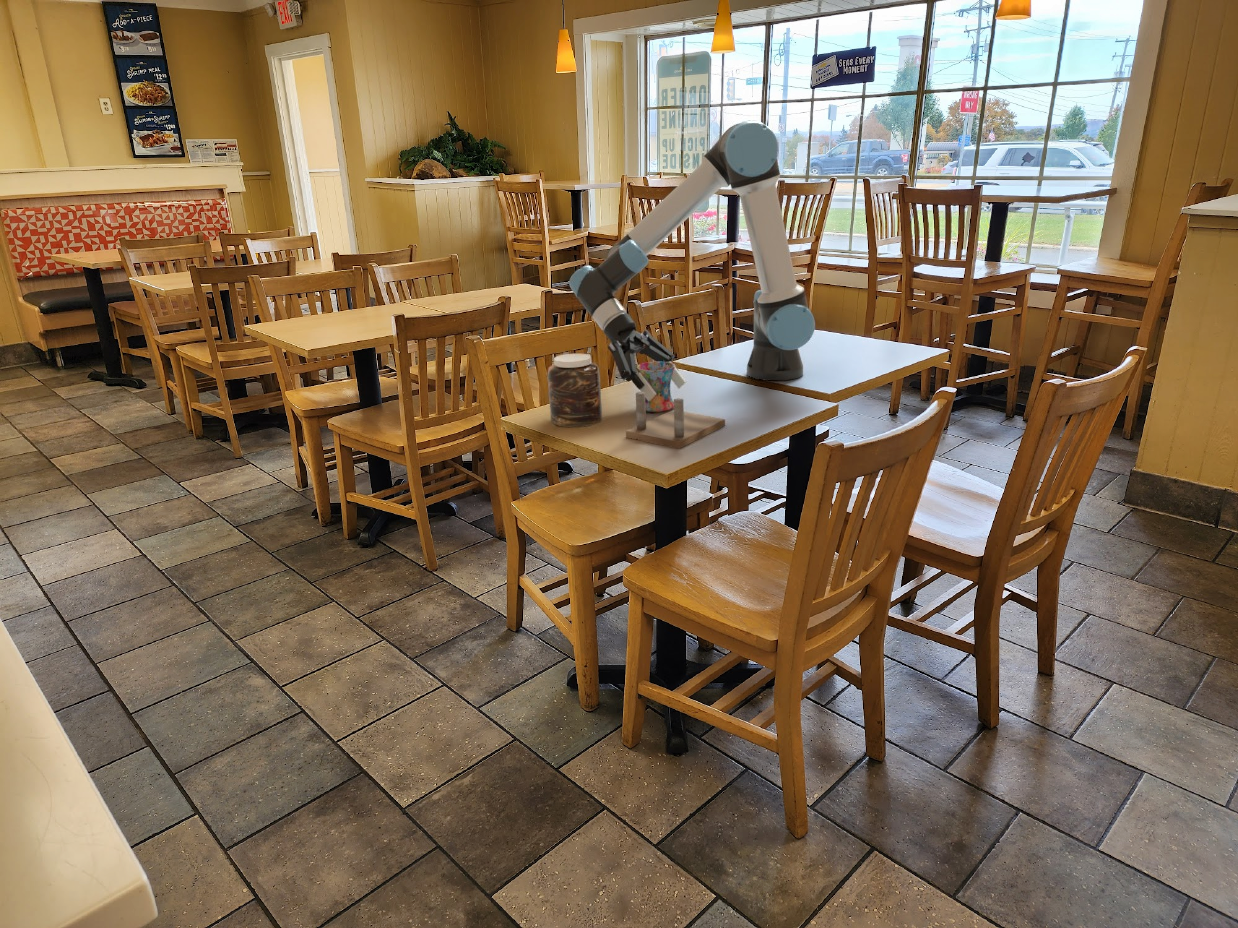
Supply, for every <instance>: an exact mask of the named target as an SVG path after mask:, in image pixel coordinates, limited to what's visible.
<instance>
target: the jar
mask: <svg viewBox="0 0 1238 928" xmlns="http://www.w3.org/2000/svg"><path fill="white" fill-rule="evenodd" d="M591 356H592V355H590V354H587V353H565V354H559V355H557V356H555V357H554V358H553V360H554V361H553V364H552V365H550V366H549V367H548V369H547V383H548V399H549V401H548V402H549V409H550V410H549V411H550V422H551V423H552V424H553V425H555V426H558V427H563V428H578V427H586V426H591V425H595V424H598V423H599V422H601V421H602V420H603V410H602V409H603V408H602V392H601V378H600V370H599V369H600V368H599V365H598V364H597V363H595V362H593V361H592V357H591Z"/></svg>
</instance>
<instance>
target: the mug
mask: <svg viewBox="0 0 1238 928" xmlns="http://www.w3.org/2000/svg"><path fill="white" fill-rule="evenodd" d="M675 366H676V364H675V363H674V362H673V363H670V362H662V361H655V360H654V361H647V362H642V363H639V364H636V369H637V374H638V373H641V374H642V375H643V377H644V378H645V379H646V380H647V382H648V383H649V384H650V386H651V387H652V388H653V390H654V391H655V392H656V395H655V396H654V397H653V398H652V399H651V400H650V401H648V400H647V399H646V397H645V409H646V412H649V413H650V412H651V413H660V412H661V413H662V412H666V411H670V410H672V408H673V409H674V399H673V397H672V391H671V384H672V383H671V382H672V380H671V378H672V374H673V371H674V369H675Z"/></svg>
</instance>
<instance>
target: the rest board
mask: <svg viewBox="0 0 1238 928" xmlns="http://www.w3.org/2000/svg"><path fill="white" fill-rule="evenodd" d="M673 402H674V407H673V409H671V410H669V411H667V412H665V413H663V414H661V415H659V416H657V417H654V418H652V419H649V420H647V415H646V413H647V411H646V409H645V393H644V392H641V391H637V392H636V393H635V406H636V407H635V409H636V410H635V411H636V413H635V414H636V425H635V426H634V427H632V428H629V429H627V430H625V435H626V436H625V437H626V438H628V439H631V438H632V439H633V440H636V439H638V440H637V441H642V442H646V443H652V444H655V445H661V446H665V447H669V448H670V447H671V448H673V449H674V448H675V449H681V448H683V447H685V446H687V445H689V444H691V443H693V442H696V441H697V440H699V439H701V438H703V437H705V436H707V435H709V434H712V433H713V432H715V431H716V430H719V429H721V428H723V427H725V426H726V419H725V418H720V417H716V416H711V415H710V416H709V415H705V414H699V413H694V412H687V411H684V408H685V407H684V399H683V398H675V399H673Z"/></svg>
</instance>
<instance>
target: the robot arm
mask: <svg viewBox="0 0 1238 928" xmlns="http://www.w3.org/2000/svg"><path fill="white" fill-rule="evenodd" d="M778 155H779V144H778V139H777V136H776V135H775V133H774V131H773V130H772V129H771V128H770V126H768V125H766V124H765V123H764V122H761V121H758V120H746V121H742V122H740V123H739V122H738V123H736V124H733V125H731V126H730V127H729V128H728V129H726V131H724V133H723V134H722V135H721V137H719V139H718V140H716V143H714V145H713V146H712V147H711V148H710V149H709V150H708V151H707V152H706V153H704V155H703V156H702V159H701V164H700V165H698V167H696V168H695V169H694V170H692V172H691V173H690V174H689V175H688V176H687V177H685V179H684V180H682V181H681V182H680V183H679V184H678V185H677V186H676V187H675V188H674V189H673V190H672V191H671V192H670V193H669V194H668V195H667V196H665V198H663V199H662V201H660V202H659V203H658V204H657V205H656V206H655V207H654V208H653V209H652V210H651V211H650V212H649V213H648V214H646V215H645V216H644V217H643V218H642V219H641V220H640V221H639V222H638V223H637V224H636V225H635V226H634V227H633V228H632V229H631V230H629V231H628V233H627V234H626V235H624V236H623V237H622V238H621V239H620V240H619V241H618V242H616V243H615V244H613V245H612V246H611V247H610V248H609V249H608V252H607V254H606V256H607V257H606V259H604V261H602V263H600V264H599V265H598V266H597V267H595V268H594V267H592V266H591V265H589V264H588V265H584V266H582V267H580V269H576V270H575V271H574V273H573V274H572V275H571V276H570V278H569V281H568V284H569V287H570V289H571V291H572V292H573V293H574V295H575V297H576V299H577V300H578V301H579V302H580V303H581V305H582V306H583V307H584V309H585V310H586V311H587V312H588V314H589V315H590V316H591V317H592V319H593V320H594V321H595V322H596V323H595V324H597V325H598V327H599V328H600V329H601V330H602V331H603V335H605V337H607V339H608V340H609V342H610V343H609V344H608V345H607V349H608V350H609V352H610V353H611V354H612V357H613V359H614V362H615V364H616V367H617V370H618V374H619V375H620V376H619V377H621V379H622V380H626V382H629V383H630V381H631V382H632V383H633V384H634V385H635V387H636V388H637V389H638V390H639V392H644V393H645V397H646V399H647V400H648V401H650V400H651V399H652V398H653V397H654V396H655V395H656V392H655V391H654V390H653V388H652V387H651V386H650V384H649V383H648V382H647V380H646V379H645V378H644V377H643V375H642V374H641V373H638V371H637V369H636V366H637V364H636V358H635V354H640V355H645V356H646V357H648V358H650V359H652V360H653V361H654V362H655V361H662V362H670V363H673V364H674V361H673V360H674V359H675V357H676V356H675V354H674V353H672V352H671V351H670V350H669V349H668V348H667V347H666V346H664V345H663V344H662V343H660V341H658V339H656V338H655V337H653V336H652V334H651V333H650V332H649V331H648V330H647V329H645V330H644V331H643V332H641V333H640V332H639V331H637V330H636V328H637V327H636V326H637V324H636V322H635V321H634V320H633V318H632V317H631V315H630V314H629V313H627V310H626V309H625V307H624V306H623V305H622V304H621V302H620V300H618V298H617V297H616V296H615V295H614V294H615V293H616V292H617V291H618V290H619V289H620V288H621V287H623V286H624V285H626V284H627V283H628V282H629V281H630V280H631V279H633V278H634V277H635V276H636V275H637V274H638V273H641V272H642V270H643V269H644V268H645V267H646V266H647V265H649V258H648V256H649V254H651V253H652V252H653V251H654V250H655V249H657V247H658V246H659V245H661V244H662V243H663V242H664V241H665V240H666V239H667V238H668V237H669V236H670V235H672V233H674V232H675V231H676V230H677V229H678V228H679V227H680V226H681V225H682V224H683V223H684V222H685V221H687V220H688V218H689V217H691V216H692V215H693V214H694V213H695V212H696V211H697V210H698V209H700V208H701V207H702V206H703V205H704V204H705V203H706V202H707V201H708V200H710V198H711V197H713V196H714V195H715V194H716V193H717V192H718V191H719V190H720V189H721V188H729V186H730V188H731V190H732V191H733V192H735V193H737V194H738V196H739V199H740V203H741V207H742V212H743V215H744V220H745V224H746V229H747V233H748V238H749V241H750V246H751V250H752V256H753V260H754V264H755V269H756V273H757V277H758V281H759V285H760V289H758V290H757V291H755V293H754V296H753V297H754V298H753V347H752V350H751V353H750V355H749V359H748V360H747V361H748V362H747V365H746V376H748V377H749V376H750V377H749V378H751V377H753V378H752V379H754V378H755V379H754V380H759V379H765V380H764V381H768V380H782V381H790V380H796V379H798V378H801V377H803V375H804V363H803V361H802V357H801V354H800V350H799V349H800V348H802V347H804V346H805V345H806V344H807V343H808V342H809V341H810V340H811V338H812V337H813V335H814V332H815V329H816V320H815V316H814V315H813V312H812V311H811V310H810V309H809V306H808V300H807V296H806V292H805V288H804V287H803V286H801V285H800V284H798V282H797V279H796V275H795V270H794V265H793V260H792V255H791V252H790V251H791V250H790V247H789V242H788V237H787V233H786V229H785V228H786V227H785V223H784V218H783V213H782V208H781V205H780V204H781V203H780V201H779V195H778V190H777V185H776V184H777V182H778V180H779V179H780V177H781V171H780V167H779V162H778ZM671 382H673V383H674V385H675V386H676V387H677V389H678V390H679V389H682V387H683V386H684V385H685V384H686V383H687V380H686V379H685V377H683V374H682V373H681V372H680V370H679V369H678V367H677V366H676V365H675V369H674V371H673V374H672V378H671Z"/></svg>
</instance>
